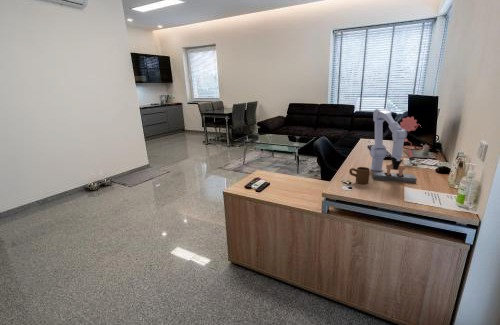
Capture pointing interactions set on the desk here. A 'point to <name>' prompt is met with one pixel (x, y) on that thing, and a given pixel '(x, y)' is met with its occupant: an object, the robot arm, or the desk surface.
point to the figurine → (409, 128)
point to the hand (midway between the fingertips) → (394, 168)
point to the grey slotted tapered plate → (394, 177)
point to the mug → (361, 174)
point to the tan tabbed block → (390, 167)
